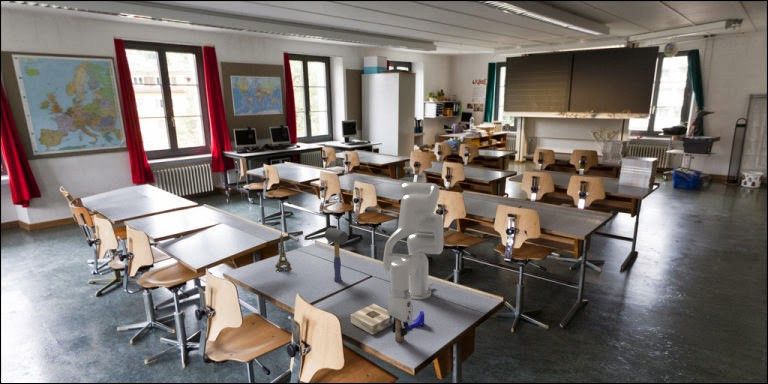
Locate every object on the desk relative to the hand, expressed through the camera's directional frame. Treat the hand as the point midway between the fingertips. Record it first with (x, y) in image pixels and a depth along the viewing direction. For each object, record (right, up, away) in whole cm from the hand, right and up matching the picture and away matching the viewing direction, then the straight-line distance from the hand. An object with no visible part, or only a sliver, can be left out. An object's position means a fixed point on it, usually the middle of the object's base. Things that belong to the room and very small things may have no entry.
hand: (399, 332), depth 169 cm
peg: (0, -3, +1) cm, 3 cm away
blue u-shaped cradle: (+5, -1, +11) cm, 12 cm away
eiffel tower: (-65, +11, +75) cm, 100 cm away
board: (-11, 0, +15) cm, 18 cm away
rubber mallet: (-31, +8, +57) cm, 66 cm away
